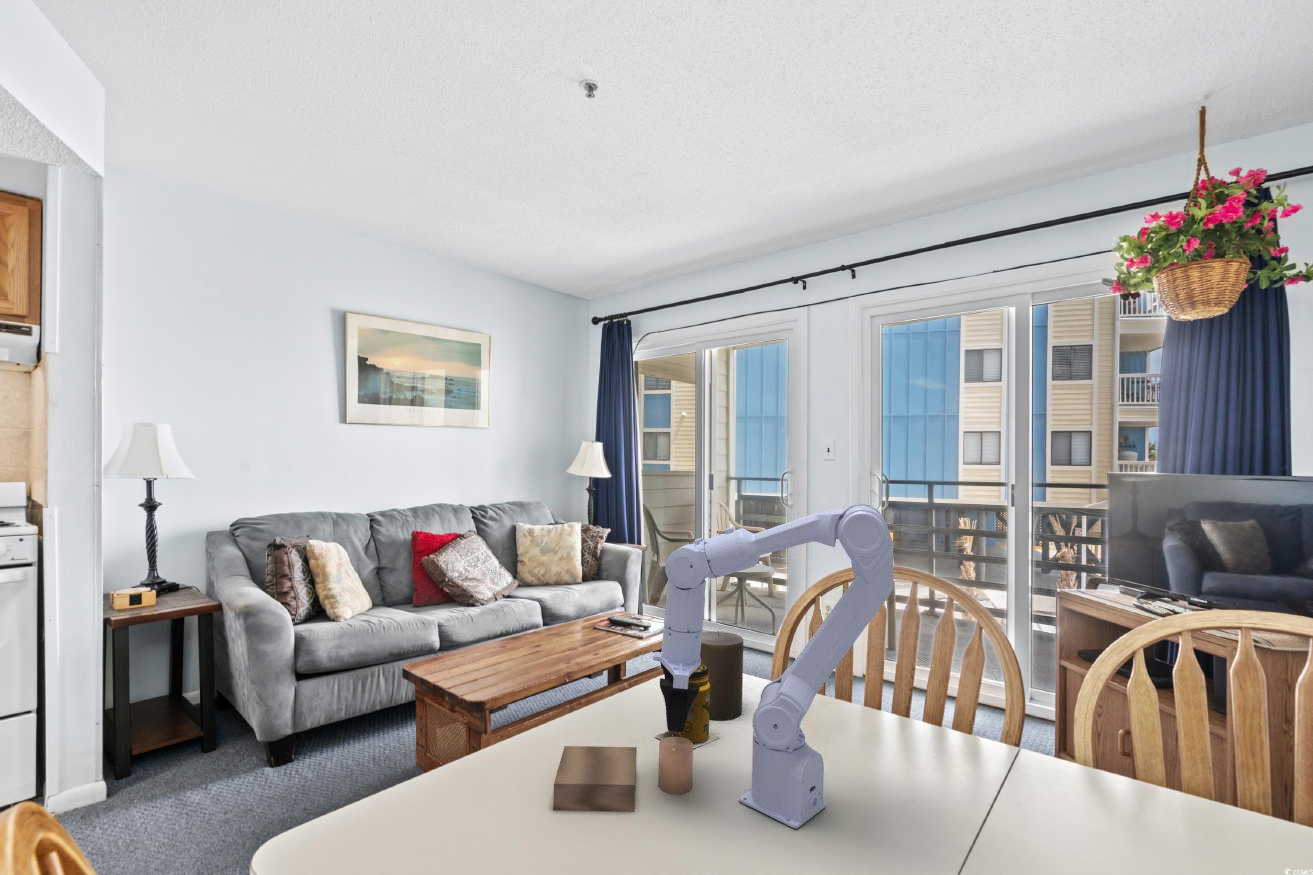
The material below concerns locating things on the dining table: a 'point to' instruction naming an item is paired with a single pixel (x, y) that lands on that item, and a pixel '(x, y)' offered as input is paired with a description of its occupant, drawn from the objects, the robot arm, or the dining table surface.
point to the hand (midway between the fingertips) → (674, 718)
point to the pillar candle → (723, 673)
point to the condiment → (696, 713)
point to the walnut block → (596, 779)
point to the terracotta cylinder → (675, 765)
